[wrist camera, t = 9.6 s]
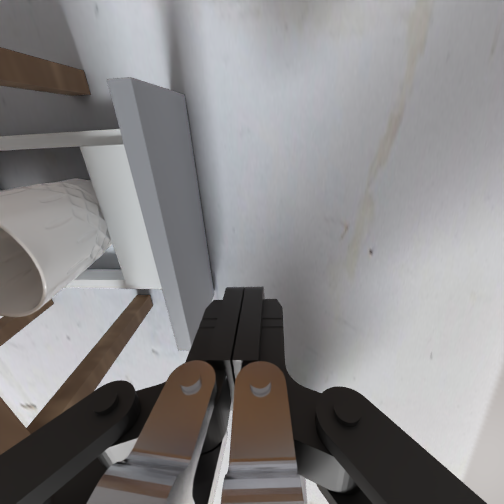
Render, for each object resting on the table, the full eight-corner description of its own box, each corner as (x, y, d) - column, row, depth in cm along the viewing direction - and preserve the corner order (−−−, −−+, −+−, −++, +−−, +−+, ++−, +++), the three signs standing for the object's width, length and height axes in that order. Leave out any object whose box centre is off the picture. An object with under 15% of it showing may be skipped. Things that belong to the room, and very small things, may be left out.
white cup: (74, 151, 21) (-72, 170, 12) (147, 218, 23) (67, 275, 15) (36, 209, 24) (-104, 259, 15) (104, 264, 26) (16, 334, 17)
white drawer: (184, 94, 18) (130, 77, 12) (214, 294, 26) (192, 351, 20) (-51, 112, 20) (-210, 106, 14) (44, 291, 28) (-27, 342, 22)
